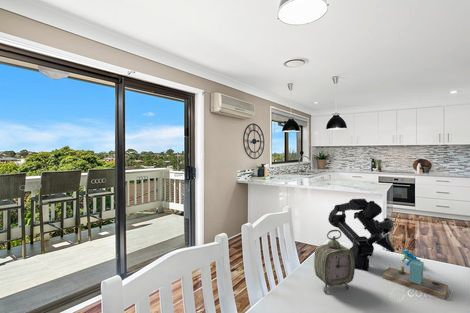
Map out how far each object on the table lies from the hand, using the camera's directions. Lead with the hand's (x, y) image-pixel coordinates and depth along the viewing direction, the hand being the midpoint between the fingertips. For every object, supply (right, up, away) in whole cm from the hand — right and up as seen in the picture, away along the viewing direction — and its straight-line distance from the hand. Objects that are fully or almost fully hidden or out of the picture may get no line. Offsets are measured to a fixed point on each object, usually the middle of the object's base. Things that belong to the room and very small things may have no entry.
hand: (393, 251), depth 114 cm
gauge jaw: (+7, -10, -5) cm, 13 cm away
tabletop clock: (-31, -13, -7) cm, 34 cm away
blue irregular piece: (+19, -13, +15) cm, 27 cm away
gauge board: (+7, -13, -4) cm, 15 cm away
